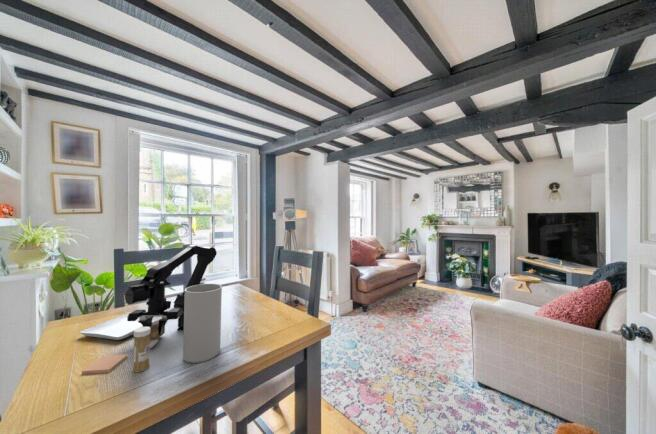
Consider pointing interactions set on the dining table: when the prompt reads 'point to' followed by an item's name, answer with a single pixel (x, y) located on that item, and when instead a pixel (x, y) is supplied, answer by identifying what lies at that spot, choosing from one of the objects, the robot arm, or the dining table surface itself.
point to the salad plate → (116, 328)
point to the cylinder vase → (202, 322)
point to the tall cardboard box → (155, 334)
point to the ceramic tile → (104, 364)
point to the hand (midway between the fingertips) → (155, 334)
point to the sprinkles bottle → (141, 349)
